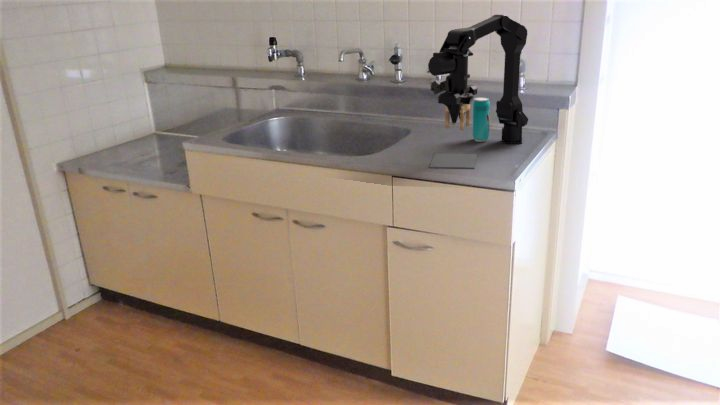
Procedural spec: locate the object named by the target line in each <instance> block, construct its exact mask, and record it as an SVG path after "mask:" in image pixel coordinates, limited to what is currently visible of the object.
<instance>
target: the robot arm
mask: <svg viewBox="0 0 720 405" xmlns="http://www.w3.org/2000/svg"><path fill="white" fill-rule="evenodd" d="M494 32H495V34H496V35H498V36H499V37H500V45H501V47H502V49H503V51H504V67H503V68H504V70H503V71H504V72H503V91H502V96H501V98H500V99H499V100H497V101H496V106H495V107H496V110H495V113H496V117H497V118H498V122H499V124H503V127H502V128H501V141H502V143H503V144H523V127H525V126H527V125H528V122H529V117H528V116H527V115H526V113H524V111H523V103H522V101H521V98H520V97H519V87H520V85H519V84H520V70H521V69H520V66H521V52H522V51H523V49H524V48H525V46H526V44H527V40H528V39H527V38H528V29H527V28H526V26H525V25H522V24H521V23H519V22H517V21H516V20H513V19H511V18H510V16H507V15H506V14H494V15H491V16H490V17H488V18H486V19H484V20H482V21H480V22H478V23H476V24H474V25H473V24H472V25H471V26H469V27H464V28H463V27H461V28H455V29H451V30H449V31H448V33H447V35H446V37H445V40H444V42H443V43H442V45H441V48H440V50H439V51H438V52H433V53H432V57H431V58H430V59H429V61H428V66H427V67H428V71H429V73H430V74H431V75H432V76H433V77H435V76H436V77H437V76H443V75H446V76H445V80H442V81H439V80H434V81H432V82H431V84H430V91H431V92H433V95H434V96H436V95H438V94H439V93H440V94H439V95H438V96H437V103H438V104H443V105H444V106H445V107H446V106H447V107H448V110H449V113H450V119H451V120H452V123H455V124H456V123H457V121H458V118H459V120H460V110H461V107H462V104H470V105H471V102H472V101H473V100H474V99H475V97H474V96H475V95H477V94H478V87H477V86H476V85H475V84H468V82H469V81H468V79H469V78H471V74H469V72H468V71H469V57H472V56H474V53H473V52H472V51H471V50H470V48H472V47H473V46H474V45H475V44H476V42H477V40H479V39H481V38H484V37H486V36H488V35H490V34H492V33H494ZM471 94H472V95H471ZM464 116H466V112H464Z"/></svg>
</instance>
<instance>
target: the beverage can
mask: <svg viewBox="0 0 720 405" xmlns="http://www.w3.org/2000/svg"><path fill="white" fill-rule="evenodd" d="M490 104H491V102H490V98H489V97H484V96H483V97H482V96H481V97H474V98H473V103H472V137H473V140H474V141H475V142H478V143H485V142H488V140H489V137H490V115H491V114H490V110H491V109H490V108H491V105H490Z"/></svg>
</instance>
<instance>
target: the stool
mask: <svg viewBox="0 0 720 405" xmlns="http://www.w3.org/2000/svg"><path fill="white" fill-rule="evenodd" d="M464 112H466V113H465V115H464ZM450 119H451V116H450V113H449V110H448V107H447V106H446V105H445V119H444V120H445V123H444V125H445V126H444V128H445V129H450ZM455 125H456V123H452V120H451V126H455ZM465 126H466V127H470V126H471V103H470V104H462V107H461V110H460V119H459V130H460V131H464V130H465Z"/></svg>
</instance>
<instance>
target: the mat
mask: <svg viewBox="0 0 720 405" xmlns="http://www.w3.org/2000/svg"><path fill="white" fill-rule="evenodd" d="M477 158H478V153H437V152H436V153H434V156H433V158H432V160H431V162H430V164H429V169H466V170H467V169H470V170H471V169H473V170H475V168H476V167H475V166H476V162H477Z"/></svg>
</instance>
